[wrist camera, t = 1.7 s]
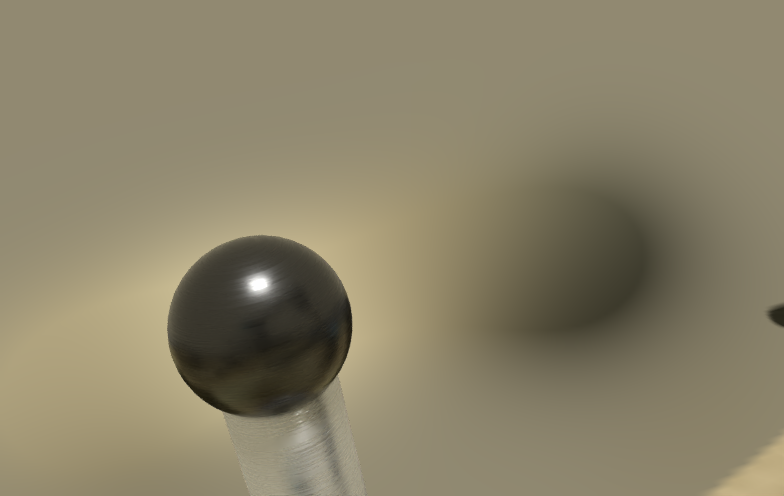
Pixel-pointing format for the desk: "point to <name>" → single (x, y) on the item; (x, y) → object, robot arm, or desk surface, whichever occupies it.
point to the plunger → (271, 362)
